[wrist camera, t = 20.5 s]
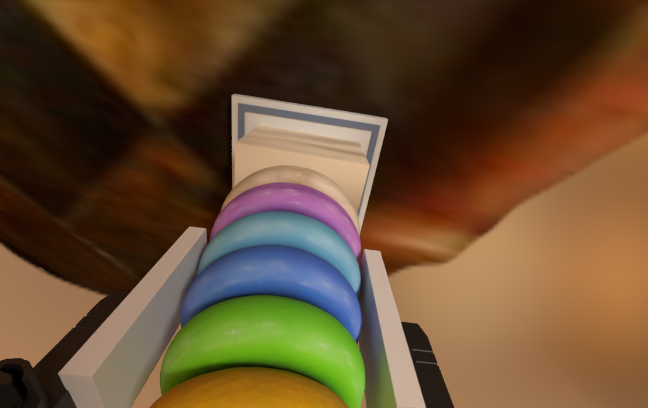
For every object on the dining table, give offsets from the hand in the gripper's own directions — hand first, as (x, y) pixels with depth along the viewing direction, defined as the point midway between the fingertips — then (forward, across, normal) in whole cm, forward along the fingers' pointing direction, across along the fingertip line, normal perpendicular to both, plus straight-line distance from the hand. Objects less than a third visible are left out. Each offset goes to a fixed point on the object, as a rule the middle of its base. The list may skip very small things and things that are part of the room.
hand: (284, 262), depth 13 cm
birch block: (+11, 0, 0) cm, 11 cm away
